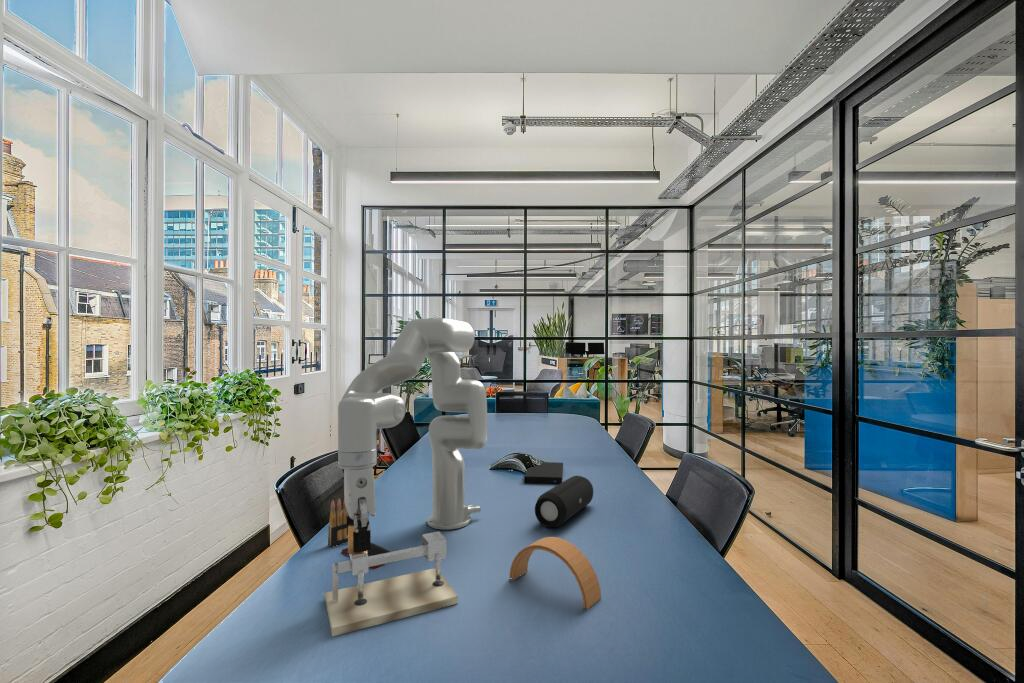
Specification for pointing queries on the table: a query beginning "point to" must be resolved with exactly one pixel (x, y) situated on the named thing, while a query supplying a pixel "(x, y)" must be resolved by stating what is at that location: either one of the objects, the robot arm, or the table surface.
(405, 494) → the table surface
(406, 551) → the frame
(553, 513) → the portable speaker
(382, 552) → the cell phone
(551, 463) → the external hard drive
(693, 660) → the table surface
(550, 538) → the arch
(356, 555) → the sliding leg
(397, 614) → the hole plate
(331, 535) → the ammunition clip
